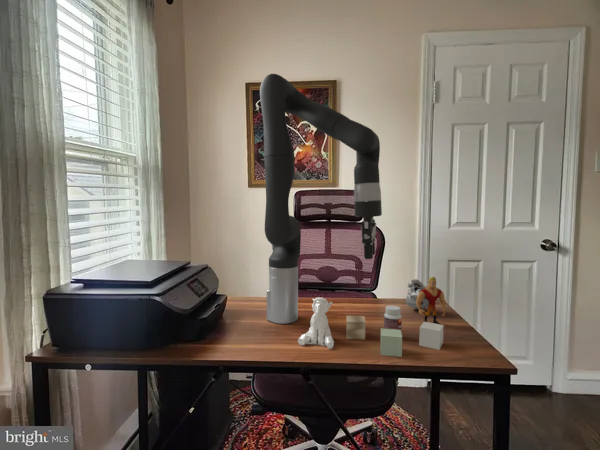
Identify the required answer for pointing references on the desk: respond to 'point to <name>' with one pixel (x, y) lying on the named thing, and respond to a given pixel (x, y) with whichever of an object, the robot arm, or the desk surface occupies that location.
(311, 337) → the white creature statuette
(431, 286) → the action figure
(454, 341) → the desk surface
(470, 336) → the desk surface
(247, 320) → the desk surface
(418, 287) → the heart
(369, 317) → the desk surface
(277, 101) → the robot arm
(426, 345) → the grey block
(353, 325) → the birch block
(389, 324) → the pill bottle
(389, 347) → the sage block
